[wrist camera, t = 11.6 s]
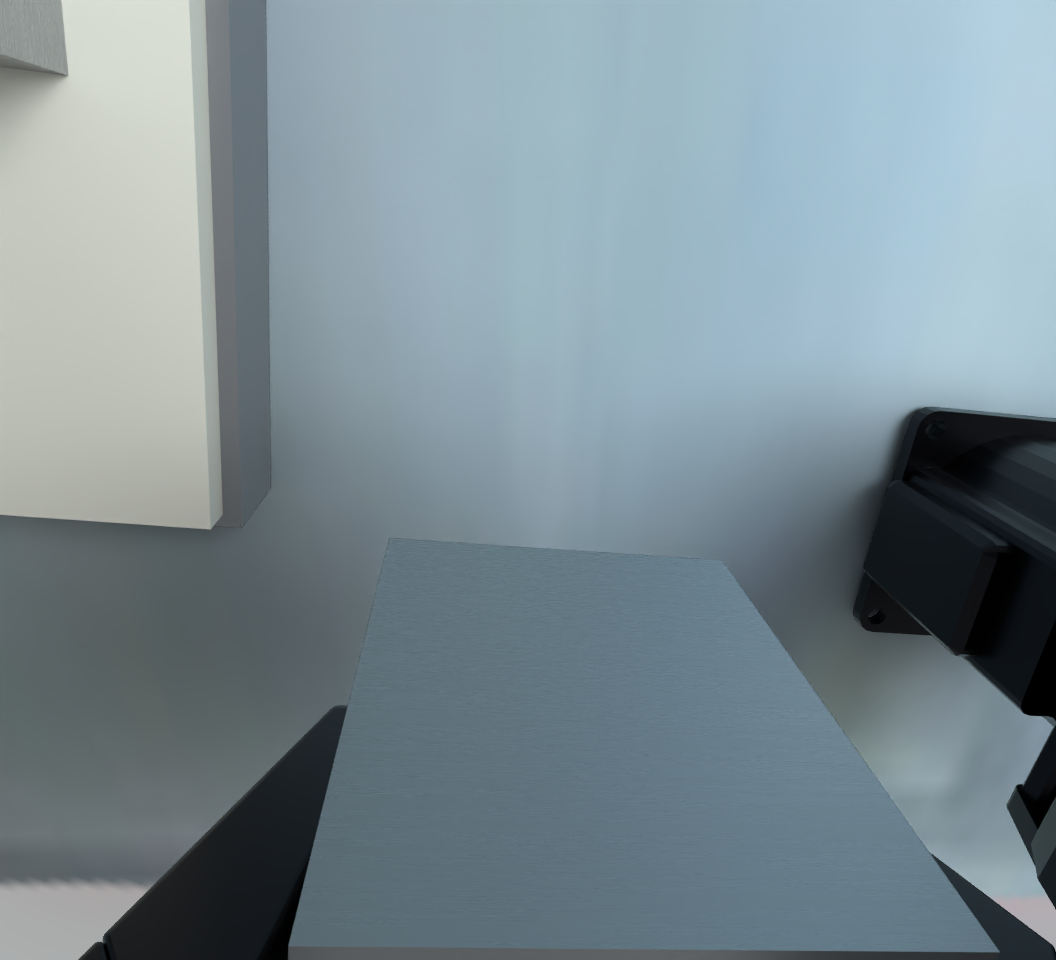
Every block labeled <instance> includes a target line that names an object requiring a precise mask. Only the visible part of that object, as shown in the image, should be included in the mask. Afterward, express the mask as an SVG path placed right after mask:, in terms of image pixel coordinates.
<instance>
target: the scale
mask: <svg viewBox="0 0 1056 960" xmlns="http://www.w3.org/2000/svg"><path fill="white" fill-rule="evenodd" d="M61 2H62V12H63V23H64V34H65V44H66V55H67V65H68V76H67V75H59V74H51V73H43V72H35V71H28V70H20V69H12V68H4V67H0V515H11V516H25V517H39V518H53V519H68V520H82V521H96V522H111V523H125V524H139V525H154V526H168V527H182V528H197V529H211V528H212V527H213V526H217V527H231V528H242V527H243V526H244V525H245V523H246V522H247V520H248V519H249V518H250V516H251V515H252V513H253V512H254V511H255V509H256V508H257V506H258V505H259V504H260V502H261V501H262V500H263V498H264V497H265V495H266V494H267V493H268V491H269V490H270V488H271V455H270V355H269V254H268V153H267V52H266V0H61Z"/></svg>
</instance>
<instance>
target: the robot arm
mask: <svg viewBox="0 0 1056 960" xmlns="http://www.w3.org/2000/svg"><path fill="white" fill-rule="evenodd" d="M935 420H936V427H935V429H934V431H932V432H931V433H930V434H926V429H927V427H928V425H929V424H930V423H931V422H933V421H935ZM864 570H865V572H864V575H863V578H862V582H861V585H860V588H859V592H858V595H857V598H856V602H855V605H854V609H853V615H854V618H855V620H856V621H857V622H858V623H859V624H860V625H861V626H862V627H863V628H864V629H866V630H867V631H871V632H883V633H899V634H916V635H932V636H933V637H934V638H935V639H937V640H938V641H939V642H940V643H941V644H942V645H943V646H944V647H945V648H946V649H947V650H948V651H949V652H950V653H952V654H954V655H956V656H962V657H963V658H964V659H965V660H966V661H967V662H968V663H969V664H971V665H972V666H973V667H974V668H975V669H976V670H977V671H978V672H979V673H980V674H981V675H982V676H984V677H985V678H986V679H987V680H988V681H989V682H990V683H991V684H992V685H993V686H994V687H996V688H997V689H998V690H999V691H1000V692H1001V693H1002V694H1003V695H1004V696H1005V697H1006V698H1007V699H1009V700H1010V701H1011V702H1012V703H1013V704H1014V705H1015V706H1016V707H1017V708H1018V709H1019V710H1021V711H1022V712H1023V713H1024V714H1027V715H1030V716H1042V717H1043V718H1045V719H1046V720H1047V721H1048V722H1049V723H1050V724H1051V725H1052V726H1054V727H1053V729H1052V731H1051V733H1050V735H1049V737H1048V739H1047V741H1046V742H1045V744H1044V746H1043V748H1042V750H1041V752H1040V754H1039V756H1038V758H1037V760H1036V761H1035V763H1034V765H1033V767H1032V769H1031V771H1030V773H1029V775H1028V777H1027V779H1026V781H1025V782H1024V784H1019V785H1017V786H1016V788H1015V790H1014V791H1013V793H1012V795H1011V797H1010V799H1009V801H1008V803H1007V809H1008V811H1009V813H1010V815H1011V817H1012V819H1013V821H1014V823H1015V825H1016V827H1017V829H1018V831H1019V834H1020V836H1021V838H1022V840H1023V842H1024V844H1025V846H1026V848H1027V850H1028V852H1029V854H1030V856H1031V858H1032V861H1033V863H1034V865H1035V867H1036V873H1037V878H1038V880H1039V882H1040V883H1041V885H1042V887H1043V888H1044V890H1045V892H1046V894H1047V895H1048V897H1049V899H1050V900H1051V902H1052V903H1053V905H1054V907H1055V909H1056V419H1055V418H1044V417H1034V416H1023V415H1013V414H1003V413H992V412H982V411H971V410H961V409H951V408H940V407H925V408H923V409H921V410H919V411H918V412H917V413H916V414H915V415H914V416H913V417H912V419H911V421H910V423H909V425H908V429H907V432H906V435H905V439H904V442H903V445H902V449H901V452H900V455H899V459H898V462H897V465H896V469H895V472H894V475H893V478H892V482H891V484H890V485H889V486H888V488H887V489H886V493H885V496H884V500H883V503H882V506H881V510H880V513H879V516H878V520H877V523H876V526H875V530H874V533H873V536H872V540H871V543H870V546H869V550H868V553H867V556H866V560H865V563H864ZM875 609H879V610H878V612H877V613H876V614H875V615H873V616H871V617H869V614H870V613H871V612H872V611H873V610H875ZM347 707H348V706H344V705H339V706H335V707H333V708H332V709H330V710H329V711H328V712H327V713H326V714H325V715H324V716H323V717H322V718H321V719H320V720H319V721H318V722H317V723H316V724H315V725H314V726H313V727H312V728H311V729H310V730H309V731H308V732H307V733H306V734H305V735H304V736H303V737H302V738H301V739H300V740H299V741H298V742H297V743H296V744H295V745H294V746H293V747H292V748H291V749H290V750H289V751H288V752H287V753H286V754H285V755H284V756H283V757H282V758H281V759H280V760H279V761H278V762H277V763H276V764H275V765H274V766H273V767H272V768H271V769H270V770H269V771H268V772H267V773H266V774H265V775H264V776H263V777H262V778H261V779H260V780H259V781H258V782H257V783H256V784H255V785H254V786H253V787H252V788H251V789H250V790H249V791H248V792H247V793H246V794H245V795H244V796H243V797H242V798H241V799H240V800H239V801H238V802H237V803H236V804H235V805H234V806H233V807H232V808H231V809H230V810H229V811H228V812H227V813H226V814H225V815H224V816H223V817H222V818H221V819H220V820H219V821H218V822H217V823H216V824H215V825H214V826H213V827H212V828H211V829H210V830H209V831H208V832H207V833H206V834H205V835H204V836H203V837H202V838H201V839H200V840H199V841H198V842H197V843H196V844H195V845H194V846H193V847H192V848H191V849H190V850H189V851H188V852H187V853H186V854H185V855H184V856H183V857H182V858H181V859H180V860H179V861H178V862H177V863H176V864H175V865H174V866H173V867H172V868H171V869H170V870H168V871H167V872H166V873H165V874H164V875H163V876H162V877H161V878H160V879H159V880H158V881H157V882H156V883H155V884H154V885H153V886H152V887H151V888H150V889H149V890H148V891H147V892H146V893H145V894H144V896H143V897H142V898H140V899H139V900H138V901H137V902H136V903H135V904H134V905H133V906H132V907H131V908H130V909H129V910H128V911H127V912H126V913H125V914H124V915H123V916H122V917H121V918H120V919H119V920H118V921H117V922H116V923H115V924H114V925H113V926H112V927H111V928H110V929H109V930H108V931H107V932H106V933H105V934H104V936H103V943H102V942H97V943H95V944H94V945H92V947H91V948H90V949H89V950H88V951H87V952H86V953H85V954H84V955H82V956H81V957H80V959H79V960H288V945H289V941H290V937H291V933H292V929H293V925H294V921H295V917H296V913H297V909H298V905H299V901H300V897H301V893H302V889H303V885H304V881H305V877H306V873H307V868H308V864H309V860H310V856H311V852H312V848H313V844H314V840H315V836H316V832H317V828H318V824H319V820H320V816H321V812H322V808H323V804H324V800H325V796H326V792H327V788H328V784H329V780H330V776H331V772H332V768H333V763H334V759H335V755H336V751H337V747H338V743H339V739H340V735H341V731H342V727H343V723H344V719H345V715H346V711H347ZM929 853H930V852H929ZM930 854H931V853H930ZM931 856H932V857H933V858H934V860H935V861H936V863H937V864H938V865H939V867H940V868H941V870H942V871H943V873H944V874H945V875H946V877H947V878H948V880H949V881H950V882H951V884H952V885H953V887H954V888H955V889H956V891H957V892H958V894H959V895H960V897H961V898H962V899H963V901H964V902H965V904H966V905H967V906H968V908H969V909H970V911H971V912H972V913H973V915H974V916H975V918H976V919H977V920H978V922H979V923H980V925H981V926H982V928H983V929H984V930H985V932H986V933H987V935H988V936H989V937H990V939H991V940H992V942H993V943H994V944H995V946H996V947H997V949H998V950H999V951H1000V954H999V956H998V958H997V960H1056V951H1055V948H1054V947H1053V945H1052V944H1050V943H1049V942H1048V941H1046V940H1045V939H1044V938H1042V937H1041V936H1040V935H1038V934H1037V933H1036V932H1034V931H1033V930H1032V929H1030V928H1029V927H1028V926H1027V925H1025V924H1024V923H1023V922H1021V921H1020V920H1018V919H1017V918H1016V917H1015V916H1013V915H1012V914H1011V913H1009V912H1008V911H1007V910H1005V909H1004V908H1002V907H1001V906H1000V905H999V904H997V903H996V902H995V901H993V900H992V899H991V898H989V897H988V896H987V895H985V894H984V893H983V892H981V891H980V890H979V889H977V888H976V887H975V886H973V885H972V884H971V883H969V882H968V881H967V880H966V879H964V878H963V877H962V876H960V875H959V874H958V873H956V872H955V871H954V870H952V869H951V868H950V867H948V866H947V865H946V864H944V863H943V862H942V861H940V860H939V859H938V858H936V857H935V856H934V855H932V854H931Z"/></svg>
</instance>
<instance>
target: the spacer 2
mask: <svg viewBox="0 0 1056 960" xmlns="http://www.w3.org/2000/svg"><path fill="white" fill-rule="evenodd" d="M999 954H1000V951H999V950H998V949H997V947H996V946H995V944H994V943H993V942H992V940H991V939H990V937H989V936H988V935H987V933H986V932H985V930H984V929H983V928H982V926H981V925H980V923H979V922H978V920H977V919H976V918H975V916H974V915H973V913H972V912H971V911H970V909H969V908H968V906H967V905H966V904H965V902H964V901H963V899H962V898H961V897H960V895H959V894H958V892H957V891H956V889H955V888H954V887H953V885H952V884H951V882H950V881H949V880H948V878H947V877H946V875H945V874H944V873H943V871H942V870H941V868H940V867H939V865H938V864H937V863H936V861H935V860H934V858H933V857H932V856H931V854H930V853H929V851H928V850H927V849H926V847H925V846H924V844H923V843H922V842H921V840H920V839H919V837H918V836H917V834H916V833H915V832H914V830H913V829H912V827H911V826H910V825H909V823H908V822H907V820H906V819H905V818H904V816H903V815H902V813H901V812H900V811H899V809H898V808H897V806H896V805H895V803H894V802H893V801H892V799H891V798H890V796H889V795H888V794H887V792H886V791H885V789H884V788H883V787H882V785H881V784H880V782H879V781H878V779H877V778H876V777H875V775H874V774H873V772H872V771H871V770H870V768H869V767H868V765H867V764H866V763H865V761H864V760H863V758H862V757H861V756H860V754H859V753H858V751H857V750H856V748H855V747H854V746H853V744H852V743H851V741H850V740H849V739H848V737H847V736H846V734H845V733H844V732H843V730H842V729H841V727H840V726H839V725H838V723H837V722H836V720H835V719H834V717H833V716H832V715H831V713H830V712H829V710H828V709H827V708H826V706H825V705H824V703H823V702H822V701H821V699H820V698H819V696H818V695H817V693H816V692H815V691H814V689H813V688H812V686H811V685H810V684H809V682H808V681H807V679H806V678H805V677H804V675H803V674H802V672H801V671H800V670H799V668H798V667H797V665H796V664H795V662H794V661H793V660H792V658H791V657H790V655H789V654H788V653H787V651H786V650H785V648H784V647H783V646H782V644H781V643H780V641H779V640H778V638H777V637H776V636H775V634H774V633H773V631H772V630H771V629H770V627H769V626H768V624H767V623H766V622H765V620H764V619H763V617H762V616H761V615H760V613H759V612H758V610H757V609H756V607H755V606H754V605H753V603H752V602H751V600H750V599H749V598H748V596H747V595H746V593H745V592H744V591H743V589H742V588H741V586H740V585H739V584H738V582H737V581H736V579H735V578H734V576H733V575H732V574H731V572H730V571H729V569H728V568H727V567H726V565H725V564H724V562H723V561H722V560H709V559H695V558H680V557H665V556H650V555H635V554H620V553H605V552H590V551H575V550H560V549H545V548H530V547H515V546H500V545H485V544H470V543H455V542H440V541H425V540H410V539H395V538H389V541H388V545H387V549H386V553H385V557H384V561H383V566H382V570H381V574H380V578H379V582H378V586H377V590H376V594H375V598H374V602H373V606H372V610H371V614H370V618H369V622H368V626H367V630H366V634H365V638H364V642H363V646H362V650H361V654H360V658H359V662H358V667H357V671H356V675H355V679H354V683H353V687H352V691H351V695H350V699H349V703H348V707H347V711H346V715H345V719H344V723H343V727H342V731H341V735H340V739H339V743H338V747H337V751H336V755H335V759H334V763H333V768H332V772H331V776H330V780H329V784H328V788H327V792H326V796H325V800H324V804H323V808H322V812H321V816H320V820H319V824H318V828H317V832H316V836H315V840H314V844H313V848H312V852H311V856H310V860H309V864H308V868H307V873H306V877H305V881H304V885H303V889H302V893H301V897H300V901H299V905H298V909H297V913H296V917H295V921H294V925H293V929H292V933H291V937H290V941H289V945H288V960H997V958H998V956H999Z"/></svg>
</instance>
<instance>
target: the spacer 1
mask: <svg viewBox="0 0 1056 960" xmlns="http://www.w3.org/2000/svg"><path fill="white" fill-rule="evenodd" d="M0 67H4V68H12V69H20V70H28V71H35V72H43V73H51V74H59V75H67V76H68V65H67V55H66V44H65V34H64V23H63V12H62V2H61V0H0Z"/></svg>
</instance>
